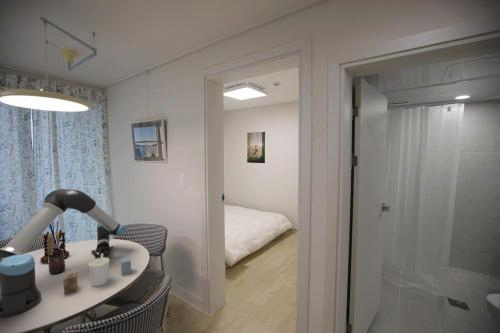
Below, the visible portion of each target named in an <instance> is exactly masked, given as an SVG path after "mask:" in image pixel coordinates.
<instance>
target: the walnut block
mask: <svg viewBox="0 0 500 333" xmlns="http://www.w3.org/2000/svg"><path fill="white" fill-rule="evenodd" d="M77 291H78V272H73V273H69V274H65V275H64V277H63V295H68V294H71V293H75V292H77Z"/></svg>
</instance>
